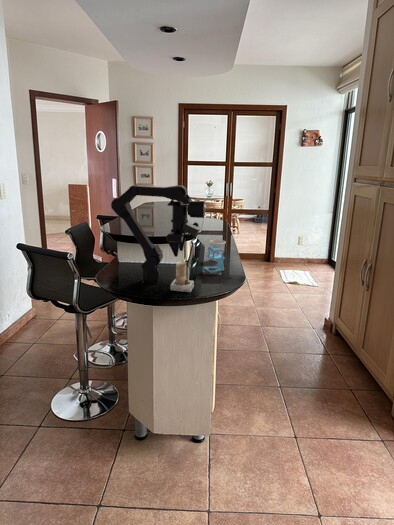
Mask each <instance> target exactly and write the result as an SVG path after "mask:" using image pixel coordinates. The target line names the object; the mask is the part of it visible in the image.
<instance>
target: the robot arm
mask: <svg viewBox="0 0 394 525" xmlns="http://www.w3.org/2000/svg"><path fill="white" fill-rule="evenodd" d="M188 192H189V191H188V189H187V188H186V186H185V185H183V184H182V185H180V184H177V185H171V186H147V185H137V184H134V185H133V184H132V185H131V186H129V187H128V188H127V190H126V191H125V192H124V193H122V194H121V195H120V196H118V197H116V198H114V199H113V200H112V201H111V203H110V207H111V209H112V211H113V212H114V213H115V214H116V215H117V216H118V217H119V218H121V219H122V220H123V221H124V222H125V225H126V226H127V227H128V228H129V230H130V232H131V234H133V236H134V238H135V239H136V241H137V242H138V244H139V246H140V247H141V248H142V251H143V255H144V258H145V260H144V262H143V263H142V264H141V269H142V282H141V283H142V284H158V283H159V281H160V270H159V267H158V265H159V264H160V263H161V262H162V260H163V257H164V254H163V250H162V249H161V248H160V245H159V243H157V244H156V245H155V244H154V243H153V242H152V241H151V240H150V238H149V237H148V234H146V232H145V230H144V229H143V227H142V226H141V224H140V222H139V221H138V220H137V218H136V217H135V215H134V213H133V209H132V206H131V202H132V201H133V200H134V199H135V197H137V196H141V197H155V198H156V197H160V198H165V199H168V200H169V199H170V201H169V203H167V206H168V207H172V208H171V209H172V210H171V211H172V213H171V214H172V218H171V219H170V222H171V223H172V225H171V226H172V228H171V229H170V233H168V234H166V237H165V241H166V242H167V243H168V245H169V247H170V249H171V251H172V253H173V256H174V257H175V258H176V257H178V255H179V251H180V252H183V251H184V247H185V243H186V240H187V238H188V237H189V236H190V235H191V236H193V237H197V236H198V235H199V232H200V229H201V227H200V225H199V224H200V223H199V222H197V221H195V222H194V223H191V222H189V220H188V218H187V216H189V217H190V218H193V219H195V218H197V219H204V218H205V214H206V208H205V200H192V198H191V197H190V195H189V194H188Z"/></svg>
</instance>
